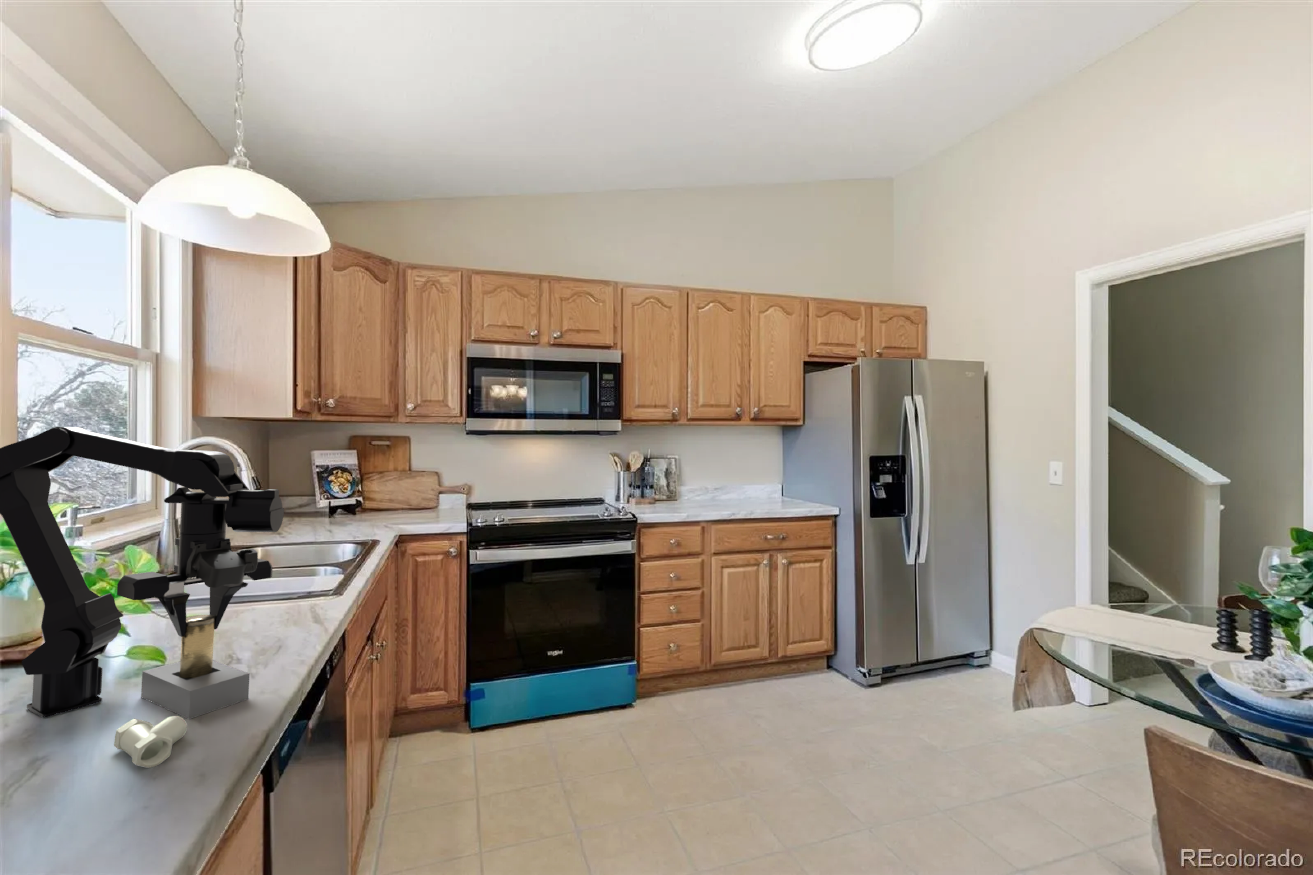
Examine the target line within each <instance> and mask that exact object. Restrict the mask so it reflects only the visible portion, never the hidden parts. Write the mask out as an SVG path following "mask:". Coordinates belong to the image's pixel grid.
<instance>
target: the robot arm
mask: <svg viewBox="0 0 1313 875" xmlns="http://www.w3.org/2000/svg"><path fill="white" fill-rule="evenodd" d="M74 457H78V458H83V459H88V460H92V461H95V462H96V461H97V462H101V463H106V464H111V465H117V466H121V467H124V468H125V467H126V468H130V469H135V470H140V471H145V472H149V473H152V474H155V475H157V476H159V477H160V478H163V479H164V480H166V481H168V482H170V483H174V484H176V485H178V486H180V487H178V488H176V490H175V491H174V492H173V493H172V494H170V495H169V496H168V497H166V498H164V499H163V502H164V503H165V504H180V518H179V519H180V521H179V523H180V524H179V537H177V538H176V537H175V541H174V545H175V546H177V547H178V561H177V563H178V564H174V565H173V572H174V573H177V574H169V575H166V574H163V573H160V572H159V573H158V572H155V571H147V572H141V573H140V572H139V573H132V574H127V575H125V574H124V575H123V576H122V577H121V578H120V579H119V581H118V583H117V585H116V589H117V590H116V596H119V597H122V598H126V599H127V600H128V599H129V600H132V601H143V600H149V599H154V598H155V599H158V601H159V603H160V604H161V605H162V606H163V607H164V610H165V611H166V613H167V615H168V617H169V618H170V621H171V623H172V625H173V627H174V630H175V631H176V633H177V635H178V637H181V638H182V637H184V636H185V632H186V618H187V602H188V600H189V598H190V596H191V594H190V593H188V592H185V586H188V585H195V584H202V583H203V584H204V585H205V586H206V587H208V588H209V615H214V616H215V623H214V631H215V630H217V629H218V627H219V625H220V623H221V621H222V619H223V617H224V614H225V612H226V610H227V608H228V606H229V604H230V602H231V600H232V599H233V597H234V595H235V594H237V592H239V591H240V590H241V589H243V588H247V587H248V585H249V582H245V581H244V578H245V576H247V577H248V578H249V579H250V580H252V581H259V580H260V581H261V580H264V579H271V578H273V566H272V563H271V562H270V560H267V559H262V558H259V557H258V553H259V552H258V551H257V550H256V549H254V548H248V549H247V548H246V549H242V550H240V551H232V547H231V543H232V542H231V538H230V537H226V535H227V534H226V532H227V528H231V530H232V531H233V532H235V533H277V532H279V531H280V529H281V527H282V525H283V520H284V515H285V514H284V513H285V508H284V507H283V502H282V499H281V497H280V490H279V489H278V488H276V489H275V488H274V489H273V488H272V489H269V488H268V489H262V490H261V489H250V488H249V487H248V486H247V484H245V482H244V481H243V480H242V479H241V477H240V476H239V475H238V474H237V472H236V471H235V464H234V462H233V460H232V459H231V457H230V456H229V455H228V454H226V453H225V452H221V451H215V450H214V451H213V450H200V449H177V448H176V449H175V448H166V447H162V446H159V445H158V446H157V445H153V444H149V443H143V442H139V441H135V440H131V439H126V438H120V437H116V436H112V435H108V434H104V433H103V434H102V433H98V432H94V431H89V430H86V429H84V428H82V427H75V426H55V427H51V428H49V429H47V430H46V431H43V432H41V433H39V434H36V435H34V436H31V437H28V438H26V439H22V440H20V441H16V442H13V443H11V444H10V443H9V444H7V445H5V446H2V447H0V515H1V517H2V519H3V521H4V522H5V525H6V527H7V530H8V531H9V533H10V535H11V538H12V540H13V542H14V544H15V545H16V548H17V550H18V552H19V554H20V556H21V558H22V560H23V563H24V564H25V566H26V569H27V571H28V572H29V575H30V577H31V580H32V581H33V583H34V585H35V587H36V589H37V591H38V594H39V595H40V598H41V599H42V602H43V606H44V609H43V613H42V614H43V615H42V620H41V626H40V627H41V628H40V629H41V634H42V637H43V641H44V642H43V643H42V644H41V645H40V646H38V647H37V648H36V649H35V650H34V651H32V652H31V653H30V654H28V655H27V656H26V657H24V659H22V660H21V665H22V667H23V670H24V672H25V674H26V675H27V676H30V675H31V676H33V679H32V680H33V682H32V694H31V696H32V698H31V699H32V700H31V703H28V704H27V705H26V709H27V710H29V711H31V712H33V713H34V714H36V715H38V716H39V717H41V718H43V719H44V718H50V717H53V716H56V715H59V714H63V713H67V712H72V711H75V710H78V709H81V708H85V707H88V706H92V705H95V704H98V703H101V702H103V698H102V697H100V695H101V694H102V685H103V684H102V683H103V667H101V666H100V665H99V660H100V659H99V658H97V657H98V656H99V655H102V654H104V653H105V651H106V650H107V647H108V645H109V643H111V642H113V641H114V640H115V639H116V638H117V636H118V634H119V633H120V631H121V630H122V622H121V619H120V618H122V617H124V613H122V612H121V611H120V610H119V609H118V608H117V604H116V601H115V597H114V596H113V594H112V593H110V592H109V593H106V594H104V595H102V596H99V595H98V594H97V593H95V592H94V591H92V590H91V588H89V587H88V585H87V583H86V581H85V579H84V577H83V575H82V572H81V571H80V568H79V566H78V564H77V561H76V560H75V557H74V556H73V554H72V553H73V552H71V549H70V547H69V545H68V543H67V540H66V539H65V537H64V535H63V532H62V530H61V528H60V526H59V524H58V522H57V520H56V518H55V516H54V513H53V511H52V510H51V509H52V508H51V507H50V504H49V496H50V491H51V484H52V482H51V477H50V474H49V473H50V472H52V471H54V470H56V469H58V468H60V467H62V466H63V465H65V464H66V463H67V462H69V461H70V460H71V459H72V458H74ZM192 490H194V491H192ZM196 490H200V491H196ZM226 497H228V498H226Z"/></svg>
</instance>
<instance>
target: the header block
mask: <svg viewBox="0 0 1313 875" xmlns="http://www.w3.org/2000/svg"><path fill="white" fill-rule="evenodd" d="M249 691H250V672H248V671H245V670H241V669H239V668H236V667H233V666H231V665H227V664H225V663H222V662H219V661H216V660H214V659H213V665H212V672H211V673H210V674H207V675H203V676H200V677H196V678H181V677H180V661H177V662H172V663H168V664H165V665H164V664H163V665H161V666H158V667H157V666H156V667H153V668H150V669H145V670H142V673H141V691H140V692H141V694H140V697H141V698H142V697H143V698H142V699H144V698H145V699H144V700H146V699H147V701H148V700H150V701H149V702H151V701H152V702H151V703H153V702H154V703H153V704H155V705H157V704H158V705H157V706H159V705H161V706H162V708H164V709H166V710H168V711H170V712H173V713H175V714H177V715H180V717H182V718H183V717H184V718H186V719H188V720H190V719H193V718H197V717H198V716H203V715H205V714H208V713H210V712H214V711H217V710H220V709H223V708H227V707H229V706H232V705H234V704H238V703H241V702H244V701H247V700H249ZM161 706H160V707H161Z"/></svg>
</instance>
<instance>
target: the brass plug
mask: <svg viewBox="0 0 1313 875" xmlns="http://www.w3.org/2000/svg"><path fill="white" fill-rule="evenodd" d="M214 623H215V616H214V615H210V614H198V615H192V616H188V617H187V616H186V632H185V636H184V637H181V642H180V661H179V662H180V677H181V678H196V677H200V676H203V675H207V674H210V673H211V672H212V665H213V660H214V642H215V640H214V639H215V630H214Z"/></svg>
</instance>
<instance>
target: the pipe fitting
mask: <svg viewBox="0 0 1313 875" xmlns="http://www.w3.org/2000/svg"><path fill="white" fill-rule="evenodd" d="M187 730H188V724H187V722H186V720H185V719H184V718H183V717H182V716H178V715H172V716H168V717H166V718H164V719H163V720H161V722H158V723H157V724H156V725H154V724H152V723H150V722H149V721H147V720H146V721H145V720H142V719H138V718H133V719H130V720H129V721H127V722H126V723H124V724H122V725H121V726H120V727H119V728H117V729H116V730H115V735H114V743H113V747H115V748H116V749H117V750H120V751H123V752H125V753H126V754H127V755H128V756H129V757H131V758H132V759H131V762H132V763H133V764H134V765H135V766H138V767H143V768H147V769H151V768H154V767H157V766H159V765H160V764H161V763H163V762H164V761H165V760H167V759H168V758H169V757H170V756H171V754H172V749H173V748H172V747H173V745H174V744H175V743H176V742H177V741H179V740H180V739H182V738H183V737H184V735H185V734H186V732H187Z"/></svg>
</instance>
